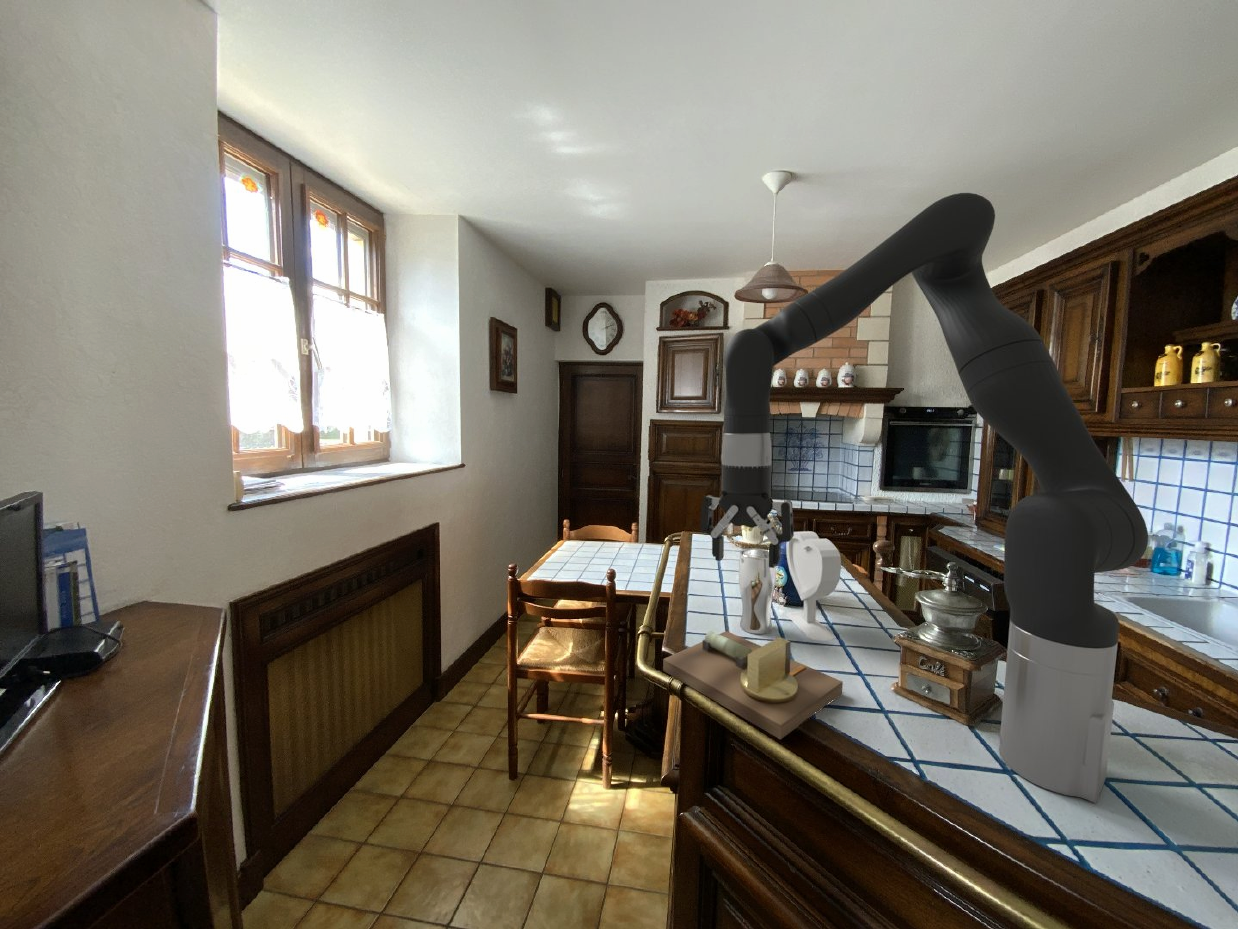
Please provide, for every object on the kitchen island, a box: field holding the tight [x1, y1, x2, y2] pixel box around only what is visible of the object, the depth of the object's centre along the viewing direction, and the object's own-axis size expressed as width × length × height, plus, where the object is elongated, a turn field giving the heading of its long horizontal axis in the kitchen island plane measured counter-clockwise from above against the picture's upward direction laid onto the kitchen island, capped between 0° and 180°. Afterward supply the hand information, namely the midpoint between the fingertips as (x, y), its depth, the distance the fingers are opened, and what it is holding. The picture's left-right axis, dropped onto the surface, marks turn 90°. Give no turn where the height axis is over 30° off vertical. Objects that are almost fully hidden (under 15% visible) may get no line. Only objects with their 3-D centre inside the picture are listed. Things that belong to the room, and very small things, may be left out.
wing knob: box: [740, 636, 798, 703], centre depth 72 cm, size 8×8×6 cm
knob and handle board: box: [662, 630, 843, 740], centre depth 77 cm, size 22×16×5 cm
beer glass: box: [738, 547, 777, 635], centre depth 96 cm, size 7×7×15 cm
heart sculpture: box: [784, 530, 842, 642], centre depth 97 cm, size 16×5×18 cm, turn 5°
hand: (745, 563), depth 79 cm, fingers open, 8 cm apart
